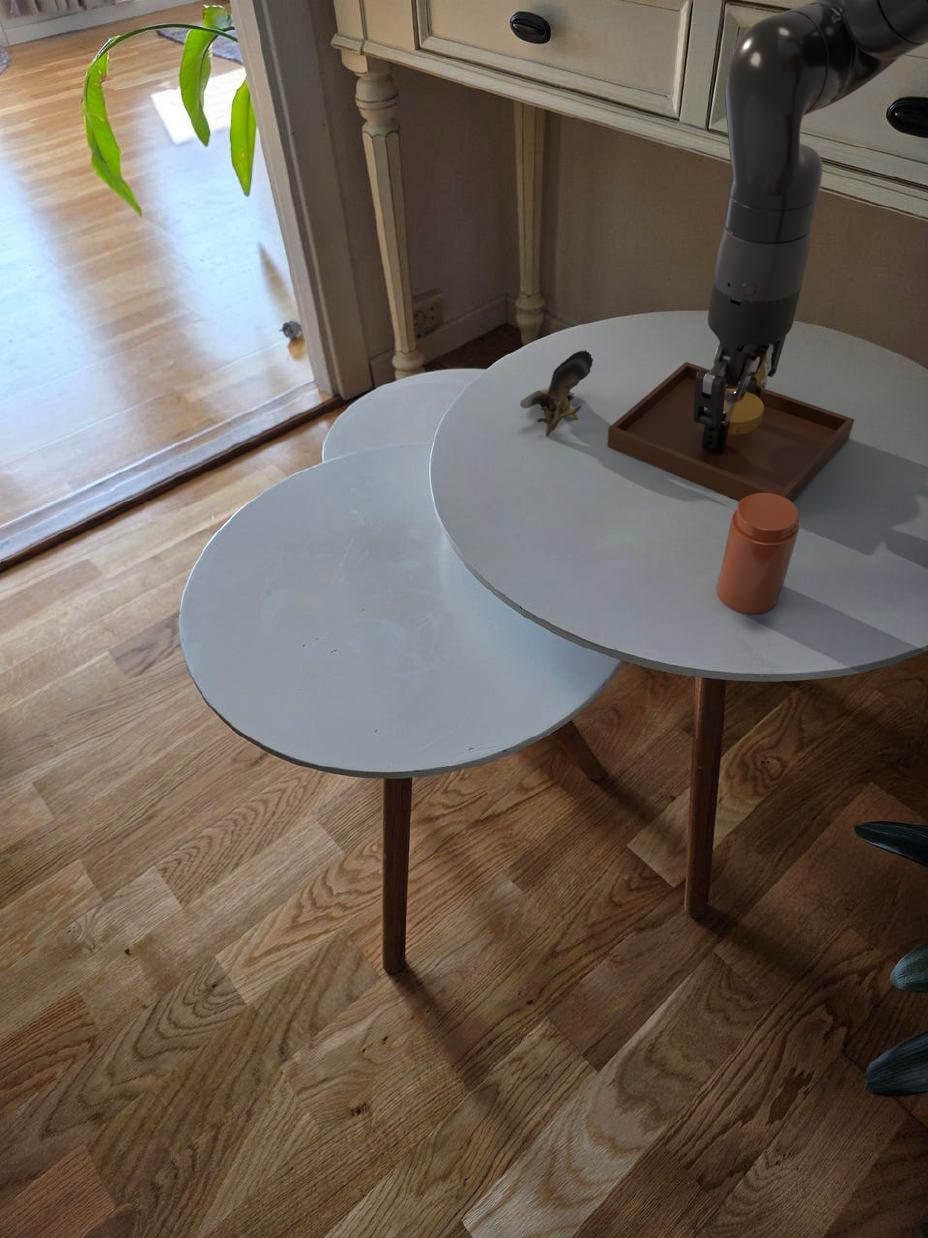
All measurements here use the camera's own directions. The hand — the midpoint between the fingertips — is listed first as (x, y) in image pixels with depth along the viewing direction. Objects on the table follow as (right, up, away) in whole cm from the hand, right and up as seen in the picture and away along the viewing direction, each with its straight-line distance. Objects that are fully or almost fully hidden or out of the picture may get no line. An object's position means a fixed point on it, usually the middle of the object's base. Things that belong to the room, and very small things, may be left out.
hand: (728, 434), depth 89 cm
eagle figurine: (-17, +3, +6) cm, 18 cm away
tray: (0, -1, +1) cm, 1 cm away
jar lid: (0, +2, -2) cm, 3 cm away
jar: (-2, -17, -14) cm, 22 cm away
